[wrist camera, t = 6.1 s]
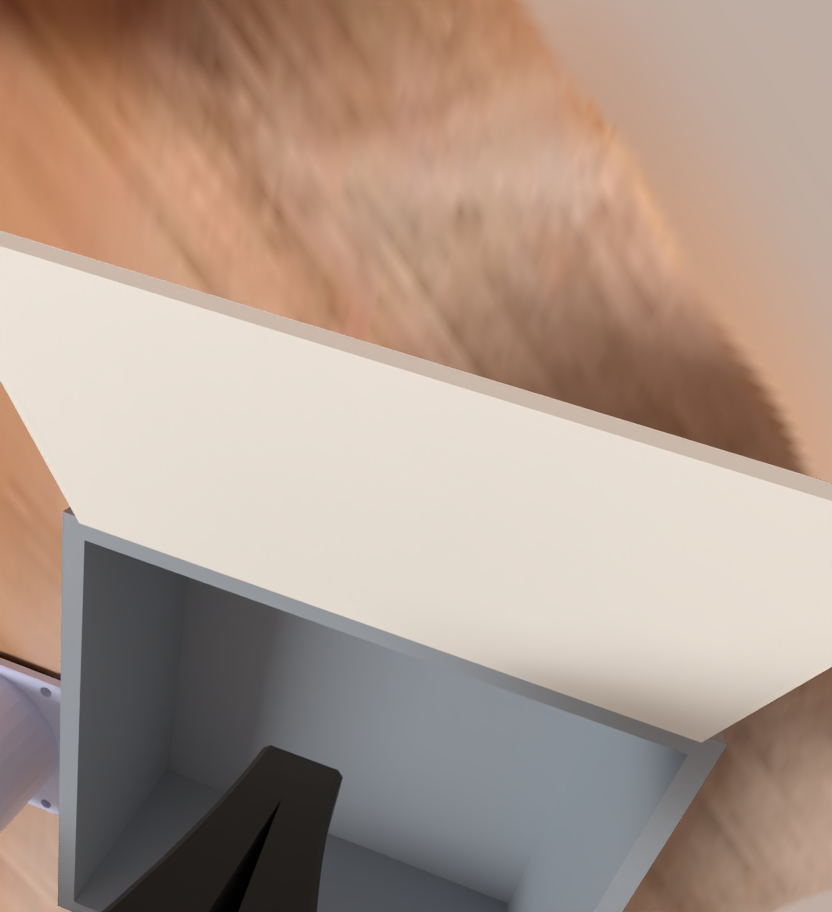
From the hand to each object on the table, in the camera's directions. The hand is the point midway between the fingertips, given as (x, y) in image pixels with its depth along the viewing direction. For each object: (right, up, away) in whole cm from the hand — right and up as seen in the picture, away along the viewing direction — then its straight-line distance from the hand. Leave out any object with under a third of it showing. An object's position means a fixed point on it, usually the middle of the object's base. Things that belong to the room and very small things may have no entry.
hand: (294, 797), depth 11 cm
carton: (+1, -3, +12) cm, 13 cm away
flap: (+2, +4, 0) cm, 5 cm away
